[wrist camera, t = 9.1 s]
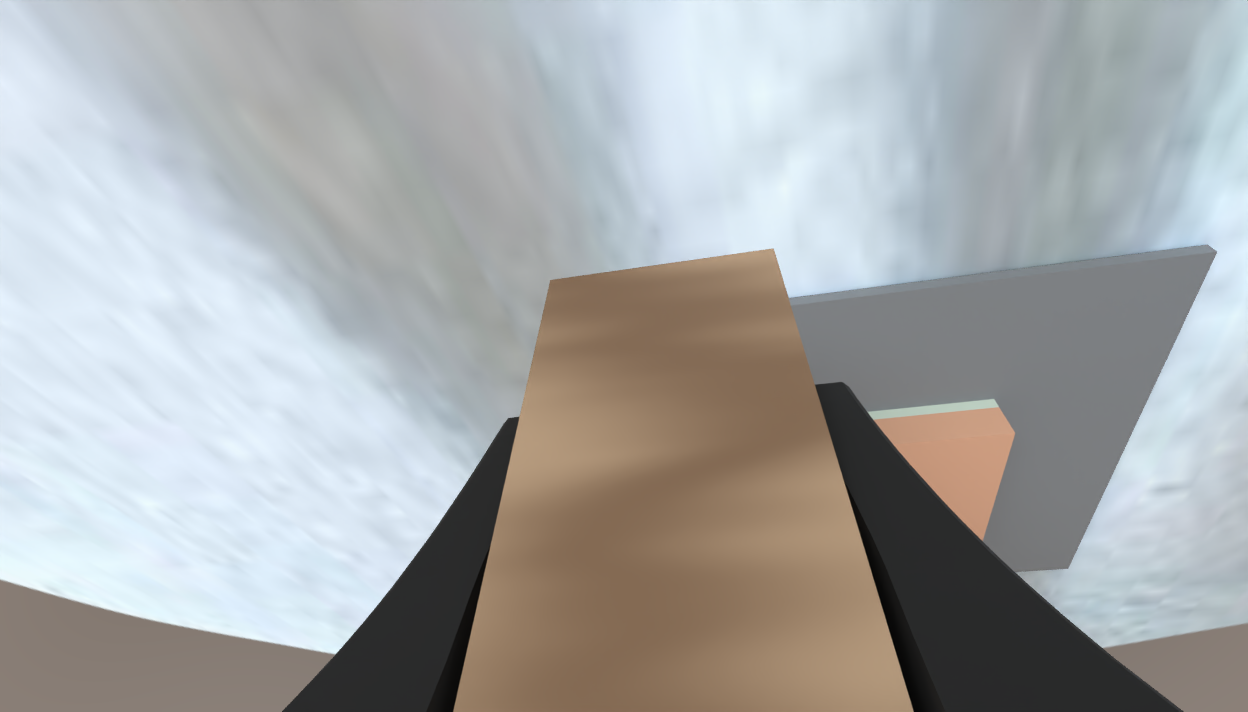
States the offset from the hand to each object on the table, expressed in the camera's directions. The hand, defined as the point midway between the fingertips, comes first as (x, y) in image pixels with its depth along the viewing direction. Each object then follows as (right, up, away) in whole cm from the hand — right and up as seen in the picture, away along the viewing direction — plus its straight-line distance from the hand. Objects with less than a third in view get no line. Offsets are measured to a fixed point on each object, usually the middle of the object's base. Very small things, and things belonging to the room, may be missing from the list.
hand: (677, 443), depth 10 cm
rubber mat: (+9, -2, +14) cm, 17 cm away
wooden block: (0, +1, +2) cm, 3 cm away
